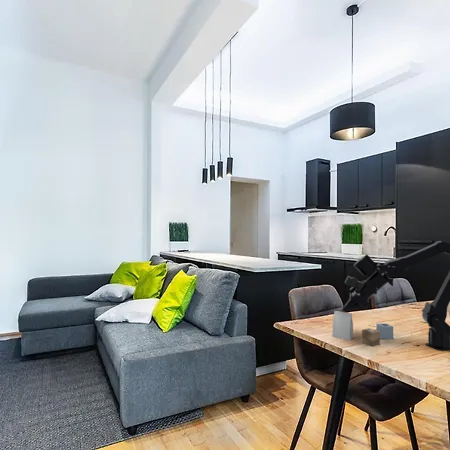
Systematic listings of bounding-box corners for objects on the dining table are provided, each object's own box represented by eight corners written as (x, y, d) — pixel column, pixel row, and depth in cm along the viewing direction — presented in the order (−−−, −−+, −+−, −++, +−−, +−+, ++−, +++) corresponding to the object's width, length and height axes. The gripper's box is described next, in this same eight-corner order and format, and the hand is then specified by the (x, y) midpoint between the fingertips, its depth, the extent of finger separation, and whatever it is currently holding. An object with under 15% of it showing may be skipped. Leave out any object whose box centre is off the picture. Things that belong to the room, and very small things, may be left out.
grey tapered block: (349, 340, 127) (349, 314, 127) (332, 336, 131) (332, 311, 131) (352, 338, 130) (353, 312, 130) (336, 334, 134) (336, 310, 134)
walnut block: (379, 344, 122) (379, 330, 122) (372, 346, 120) (372, 332, 120) (368, 341, 126) (368, 327, 126) (361, 343, 123) (361, 329, 124)
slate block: (393, 339, 129) (393, 326, 129) (382, 339, 129) (382, 326, 129) (387, 335, 133) (387, 323, 134) (376, 335, 133) (376, 322, 133)
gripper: (355, 267, 138) (327, 291, 141) (359, 271, 121) (328, 299, 124) (375, 287, 136) (347, 311, 139) (383, 294, 118) (350, 322, 121)
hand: (342, 310), depth 131 cm, fingers closed
